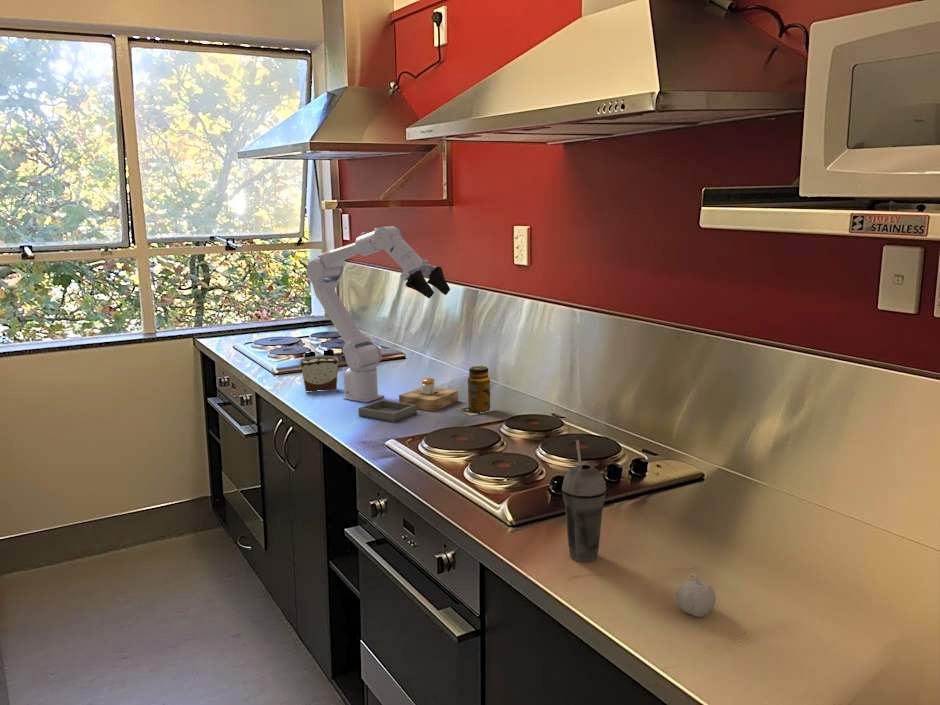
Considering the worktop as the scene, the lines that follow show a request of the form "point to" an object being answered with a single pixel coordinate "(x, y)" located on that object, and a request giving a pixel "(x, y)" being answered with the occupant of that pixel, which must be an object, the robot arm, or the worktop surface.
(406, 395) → the socket block
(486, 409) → the condiment
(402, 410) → the tray
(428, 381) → the small glass vial
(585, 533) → the beverage cup
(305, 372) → the food container
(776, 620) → the worktop surface
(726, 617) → the worktop surface
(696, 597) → the garlic
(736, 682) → the worktop surface
